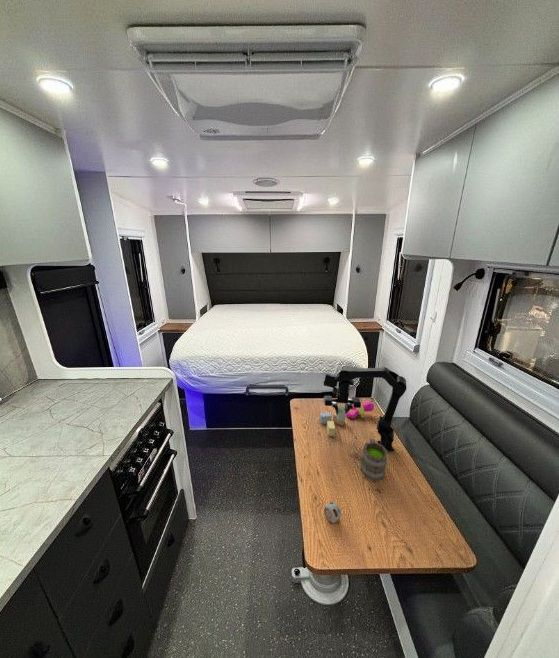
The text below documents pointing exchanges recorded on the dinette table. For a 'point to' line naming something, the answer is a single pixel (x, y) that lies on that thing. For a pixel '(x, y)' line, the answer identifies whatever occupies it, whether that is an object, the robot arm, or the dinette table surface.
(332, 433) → the mustard brick
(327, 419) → the slate brick
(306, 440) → the dinette table surface
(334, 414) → the terracotta brick
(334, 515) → the roller toy
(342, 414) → the green brick
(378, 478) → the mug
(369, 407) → the toy
